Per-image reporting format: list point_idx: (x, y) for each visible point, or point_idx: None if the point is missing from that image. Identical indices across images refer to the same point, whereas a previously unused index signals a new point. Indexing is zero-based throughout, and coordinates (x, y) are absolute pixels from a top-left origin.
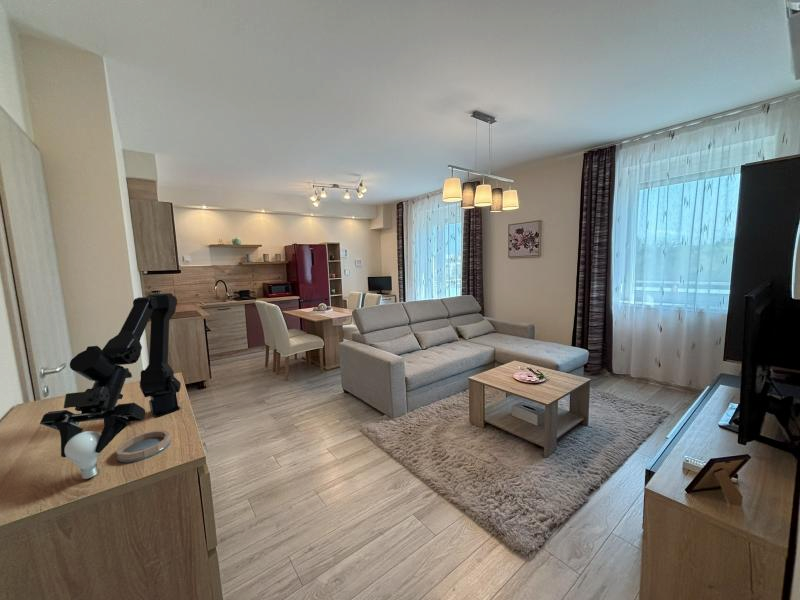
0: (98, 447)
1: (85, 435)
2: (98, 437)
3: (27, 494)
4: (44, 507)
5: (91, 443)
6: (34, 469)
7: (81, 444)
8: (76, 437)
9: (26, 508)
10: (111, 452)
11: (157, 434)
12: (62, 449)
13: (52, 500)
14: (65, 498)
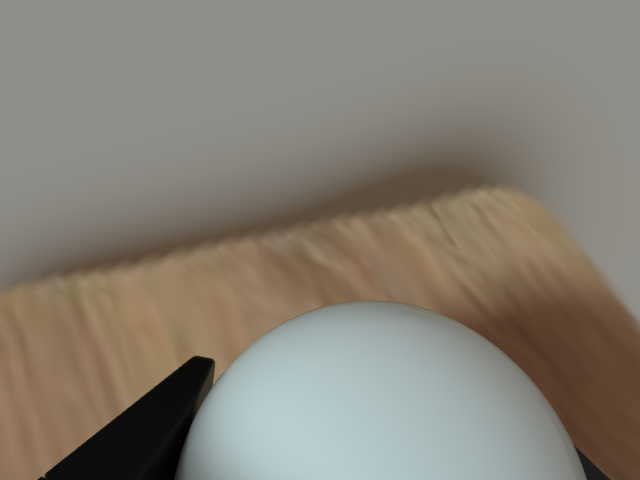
0: (176, 376)
1: (334, 464)
2: None
3: (610, 400)
4: (426, 222)
5: (232, 369)
6: None
7: (332, 326)
8: (460, 431)
9: (514, 253)
10: None
11: None
12: (594, 475)
13: (422, 269)
14: (361, 258)
